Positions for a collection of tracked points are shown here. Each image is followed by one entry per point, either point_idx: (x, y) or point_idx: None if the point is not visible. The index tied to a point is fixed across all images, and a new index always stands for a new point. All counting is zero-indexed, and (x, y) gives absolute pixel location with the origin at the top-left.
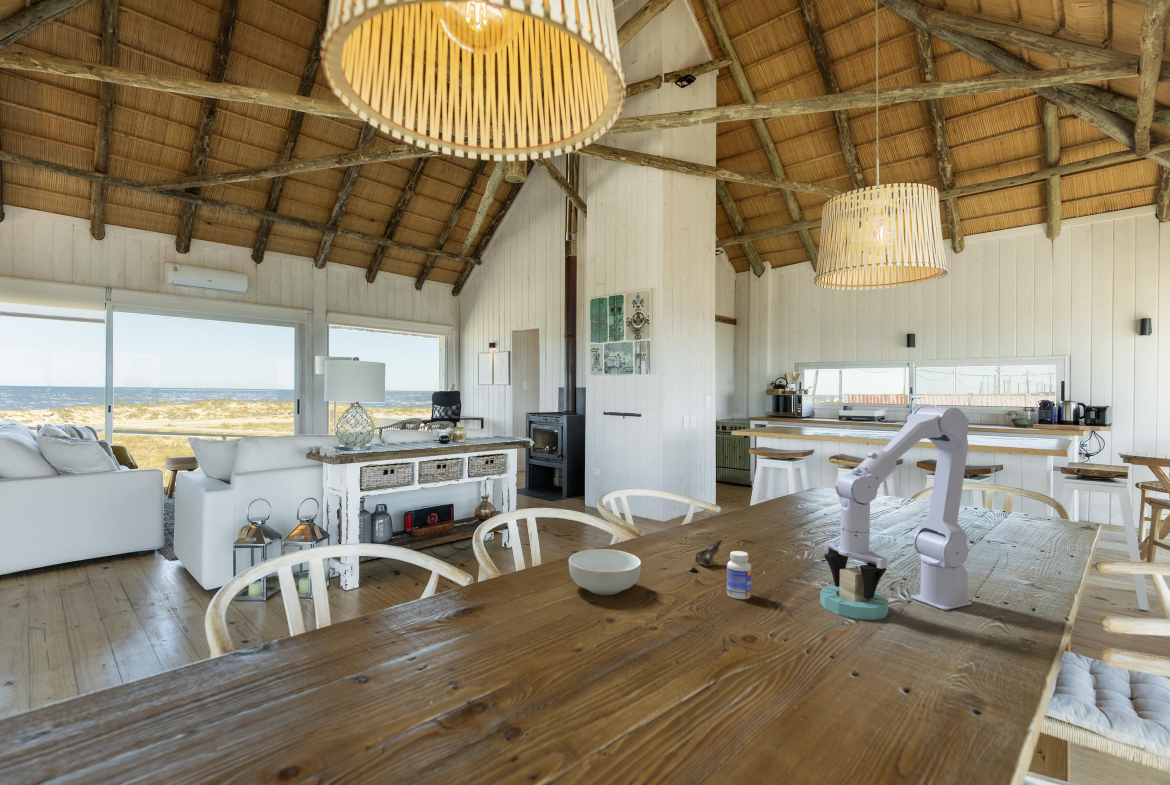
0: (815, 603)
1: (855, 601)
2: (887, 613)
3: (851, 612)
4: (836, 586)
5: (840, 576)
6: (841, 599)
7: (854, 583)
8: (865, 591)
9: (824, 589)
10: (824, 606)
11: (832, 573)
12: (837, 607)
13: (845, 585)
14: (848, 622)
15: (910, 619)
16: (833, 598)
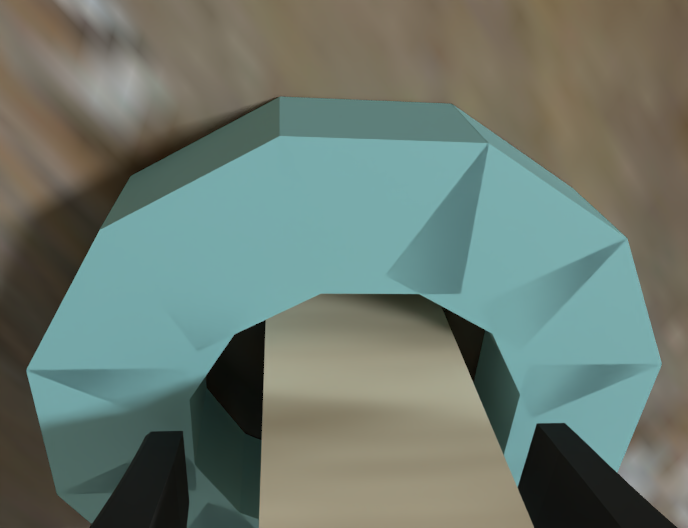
0: (589, 131)
1: (266, 358)
2: None
3: (162, 175)
4: (548, 425)
5: (517, 522)
6: (342, 255)
7: (270, 510)
8: (131, 486)
9: (626, 321)
10: (472, 119)
11: (664, 525)
12: (294, 118)
13: (409, 446)
14: (77, 17)
15: (12, 520)
16: (408, 197)
